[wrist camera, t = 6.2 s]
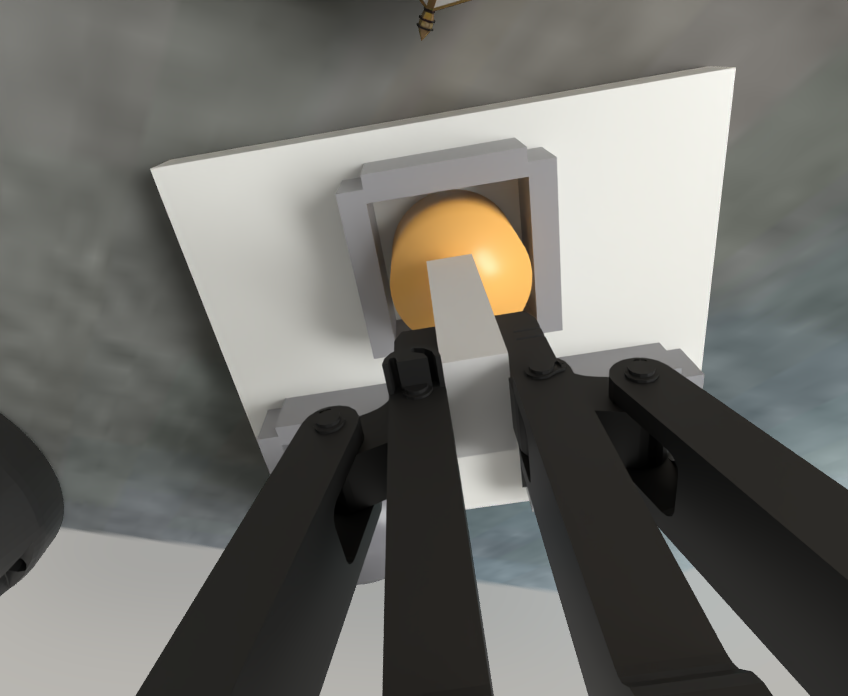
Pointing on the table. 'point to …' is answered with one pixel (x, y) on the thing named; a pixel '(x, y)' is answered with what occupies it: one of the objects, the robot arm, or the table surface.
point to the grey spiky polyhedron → (432, 14)
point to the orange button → (457, 253)
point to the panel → (490, 177)
